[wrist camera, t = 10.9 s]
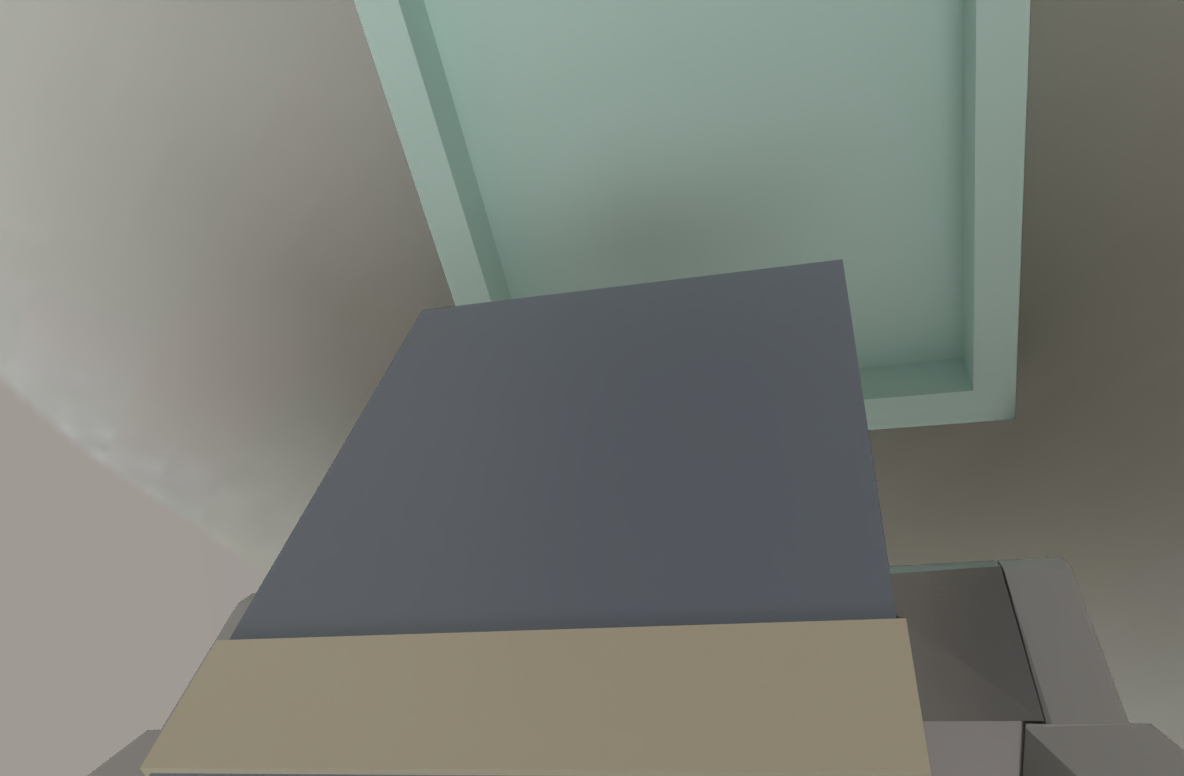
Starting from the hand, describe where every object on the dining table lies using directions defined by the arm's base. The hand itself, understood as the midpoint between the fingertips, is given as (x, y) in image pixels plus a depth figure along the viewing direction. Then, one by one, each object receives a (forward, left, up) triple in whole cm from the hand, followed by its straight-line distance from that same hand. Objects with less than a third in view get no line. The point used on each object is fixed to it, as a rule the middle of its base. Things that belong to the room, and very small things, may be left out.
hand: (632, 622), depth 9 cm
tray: (0, 0, -12) cm, 12 cm away
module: (0, 0, -3) cm, 3 cm away
